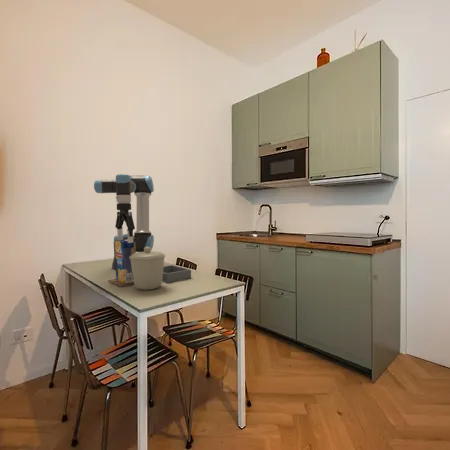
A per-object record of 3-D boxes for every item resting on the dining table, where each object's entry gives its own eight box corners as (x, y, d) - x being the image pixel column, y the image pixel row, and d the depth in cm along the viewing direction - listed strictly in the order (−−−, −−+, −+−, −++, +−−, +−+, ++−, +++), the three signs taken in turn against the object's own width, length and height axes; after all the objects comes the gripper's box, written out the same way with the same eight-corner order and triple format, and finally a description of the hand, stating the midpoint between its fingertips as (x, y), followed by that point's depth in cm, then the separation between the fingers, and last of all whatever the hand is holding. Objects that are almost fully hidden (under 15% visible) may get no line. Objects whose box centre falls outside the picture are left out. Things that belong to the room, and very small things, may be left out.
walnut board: (108, 281, 163) (108, 280, 163) (132, 277, 172) (132, 276, 172) (119, 287, 151) (119, 285, 151) (144, 282, 160) (144, 280, 160)
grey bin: (149, 277, 173) (149, 268, 173) (172, 272, 184) (172, 265, 183) (166, 283, 158) (166, 274, 158) (191, 278, 169) (190, 269, 169)
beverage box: (128, 277, 168) (126, 239, 167) (136, 281, 160) (135, 241, 158) (116, 279, 163) (114, 240, 162) (124, 283, 155) (123, 242, 154)
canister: (143, 294, 137) (142, 250, 136) (123, 288, 149) (121, 247, 148) (173, 286, 151) (172, 246, 150) (152, 281, 162) (151, 243, 161)
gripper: (108, 203, 166) (109, 240, 167) (126, 202, 147) (128, 244, 149) (121, 203, 171) (122, 239, 172) (140, 202, 152) (141, 242, 154)
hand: (125, 241), depth 161 cm, fingers open, 13 cm apart
